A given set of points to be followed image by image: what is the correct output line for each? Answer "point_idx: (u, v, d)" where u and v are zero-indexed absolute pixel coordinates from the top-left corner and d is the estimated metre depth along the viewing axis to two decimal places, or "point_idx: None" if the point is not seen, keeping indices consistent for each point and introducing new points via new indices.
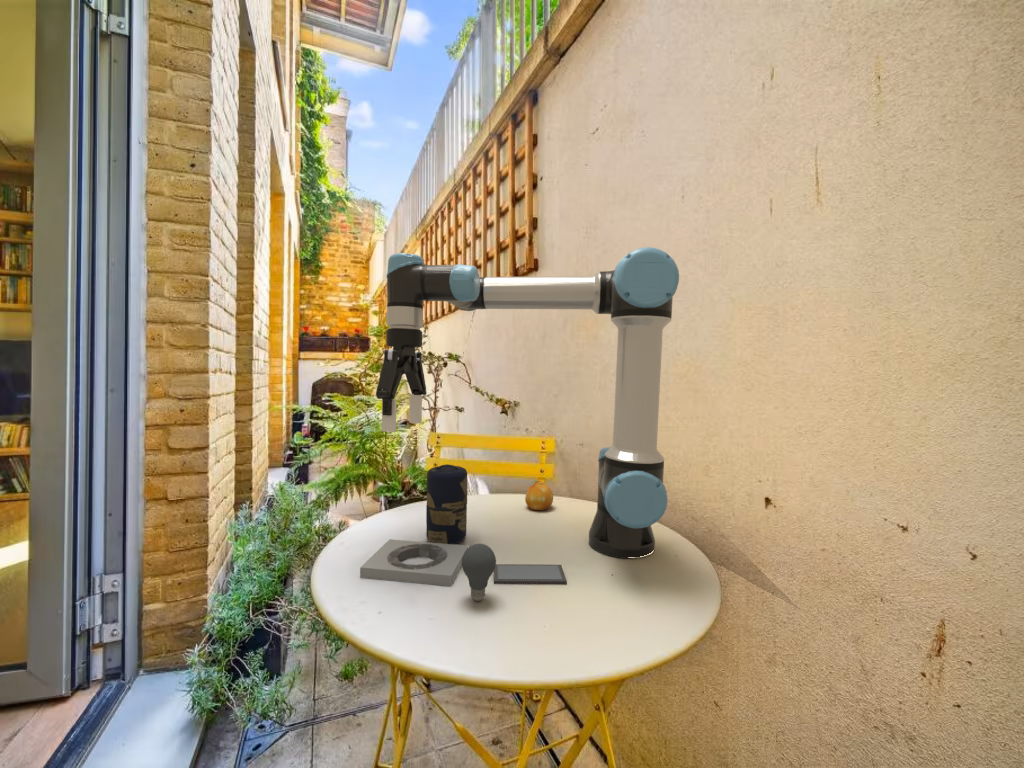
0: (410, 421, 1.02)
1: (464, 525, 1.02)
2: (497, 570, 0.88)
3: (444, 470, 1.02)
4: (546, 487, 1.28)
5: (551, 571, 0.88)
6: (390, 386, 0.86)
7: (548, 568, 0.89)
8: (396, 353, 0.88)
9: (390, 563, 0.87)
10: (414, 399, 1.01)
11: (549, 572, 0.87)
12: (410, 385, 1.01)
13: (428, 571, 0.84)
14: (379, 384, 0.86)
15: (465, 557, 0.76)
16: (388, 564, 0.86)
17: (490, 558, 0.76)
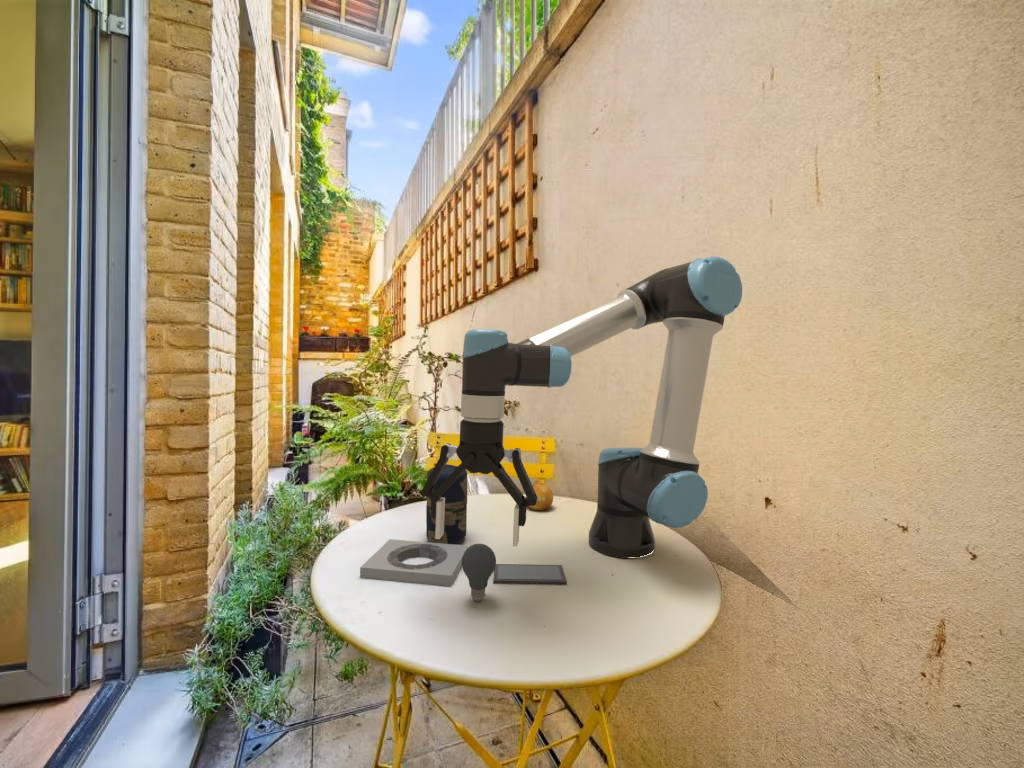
0: None
1: (464, 525, 1.02)
2: (497, 570, 0.88)
3: (444, 470, 1.02)
4: (546, 487, 1.28)
5: (551, 572, 0.88)
6: (427, 485, 0.77)
7: (549, 568, 0.89)
8: (442, 449, 0.76)
9: (390, 563, 0.87)
10: None
11: (549, 572, 0.87)
12: None
13: (428, 571, 0.84)
14: None
15: (465, 557, 0.76)
16: (388, 564, 0.86)
17: (490, 558, 0.76)
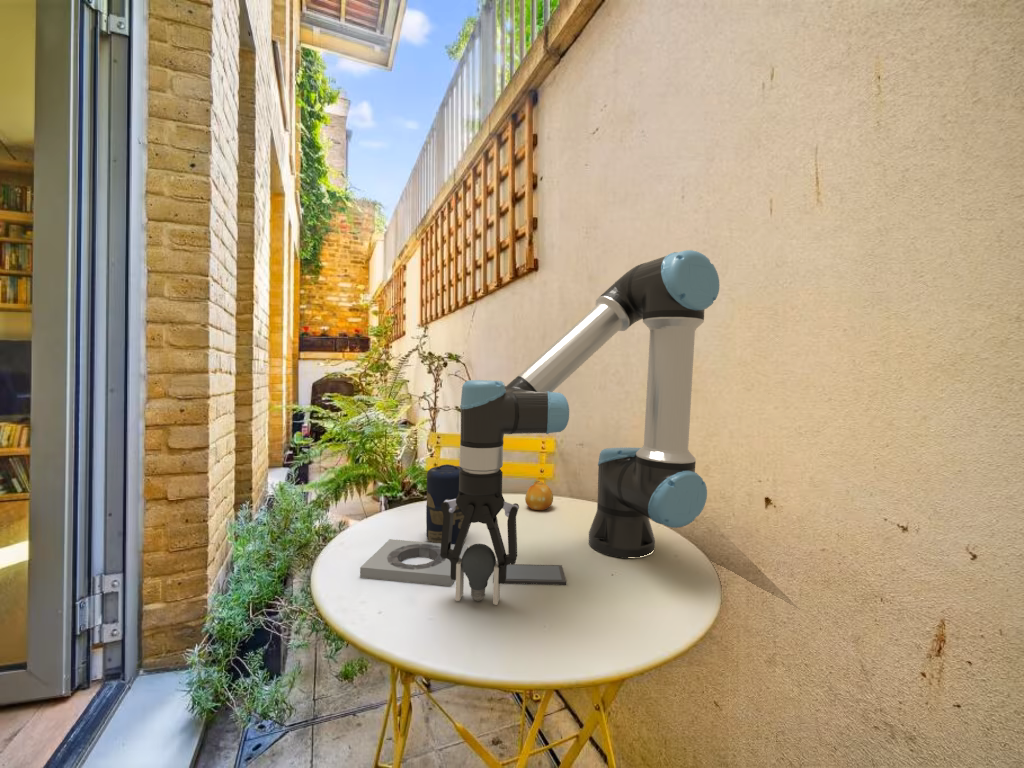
0: None
1: None
2: None
3: (444, 470, 1.02)
4: (546, 487, 1.28)
5: (551, 572, 0.88)
6: (443, 546, 0.77)
7: (549, 568, 0.89)
8: (442, 507, 0.77)
9: (390, 563, 0.87)
10: None
11: (549, 573, 0.87)
12: None
13: (428, 571, 0.84)
14: None
15: (465, 557, 0.76)
16: (388, 564, 0.86)
17: (490, 558, 0.76)
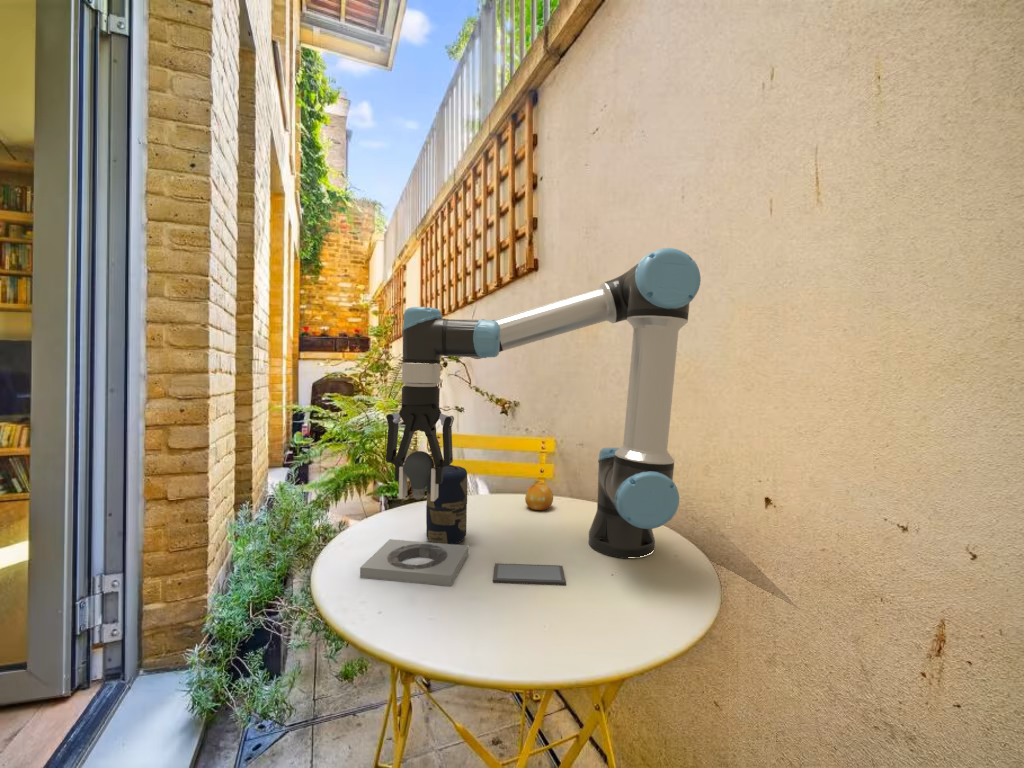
0: None
1: (464, 525, 1.02)
2: (497, 569, 0.88)
3: (444, 470, 1.02)
4: (546, 487, 1.28)
5: (551, 572, 0.88)
6: (388, 452, 0.89)
7: (549, 569, 0.89)
8: (387, 418, 0.89)
9: (390, 563, 0.87)
10: None
11: (549, 573, 0.87)
12: None
13: (428, 571, 0.84)
14: None
15: (406, 460, 0.88)
16: (388, 564, 0.86)
17: (428, 461, 0.88)
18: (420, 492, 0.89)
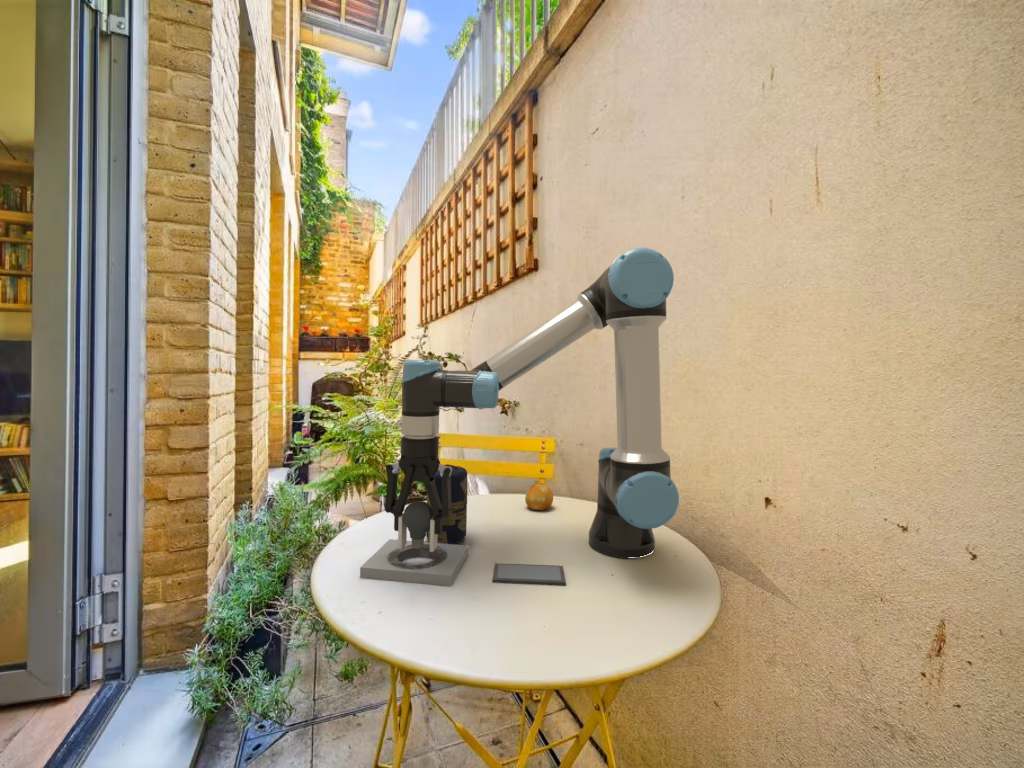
0: None
1: (464, 525, 1.02)
2: (497, 569, 0.88)
3: None
4: (546, 487, 1.28)
5: (551, 572, 0.88)
6: (388, 502, 0.90)
7: (549, 569, 0.89)
8: (387, 468, 0.89)
9: (390, 563, 0.87)
10: None
11: (549, 573, 0.87)
12: None
13: (428, 571, 0.84)
14: None
15: (405, 511, 0.89)
16: (388, 564, 0.86)
17: (427, 512, 0.88)
18: (419, 542, 0.89)
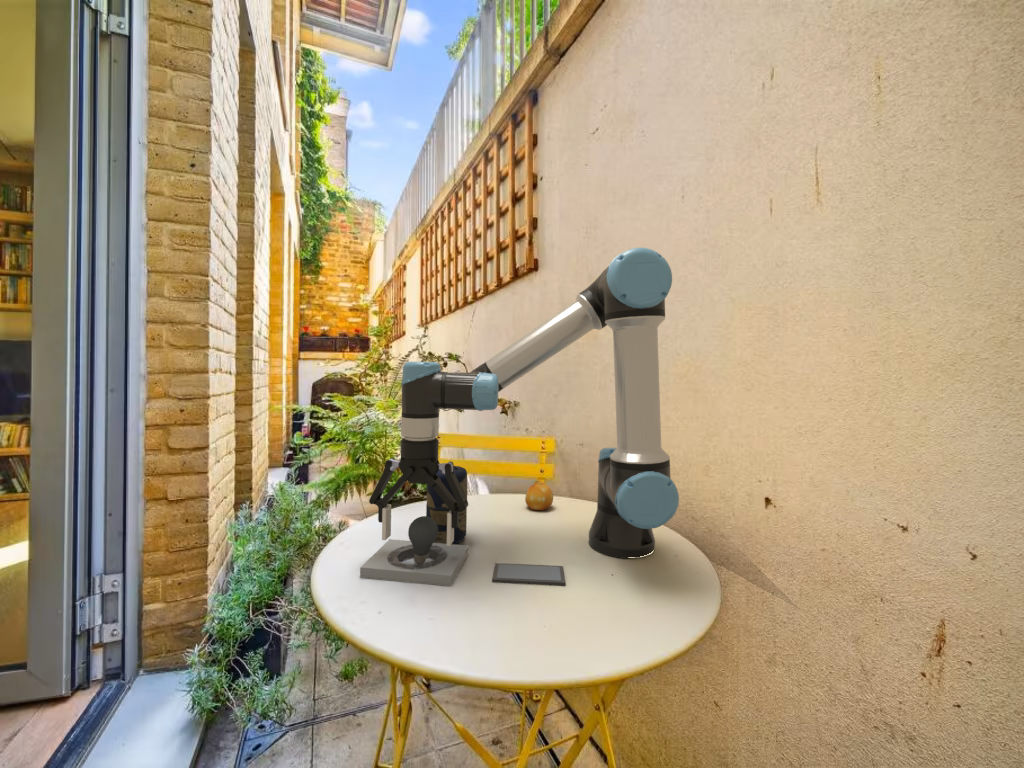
0: None
1: (464, 525, 1.02)
2: (497, 569, 0.88)
3: None
4: (546, 487, 1.28)
5: (551, 572, 0.87)
6: (374, 494, 0.90)
7: (549, 569, 0.89)
8: (386, 463, 0.89)
9: (390, 563, 0.87)
10: None
11: (549, 573, 0.87)
12: None
13: (428, 571, 0.84)
14: None
15: (411, 526, 0.89)
16: (388, 564, 0.86)
17: (433, 528, 0.89)
18: (422, 558, 0.89)
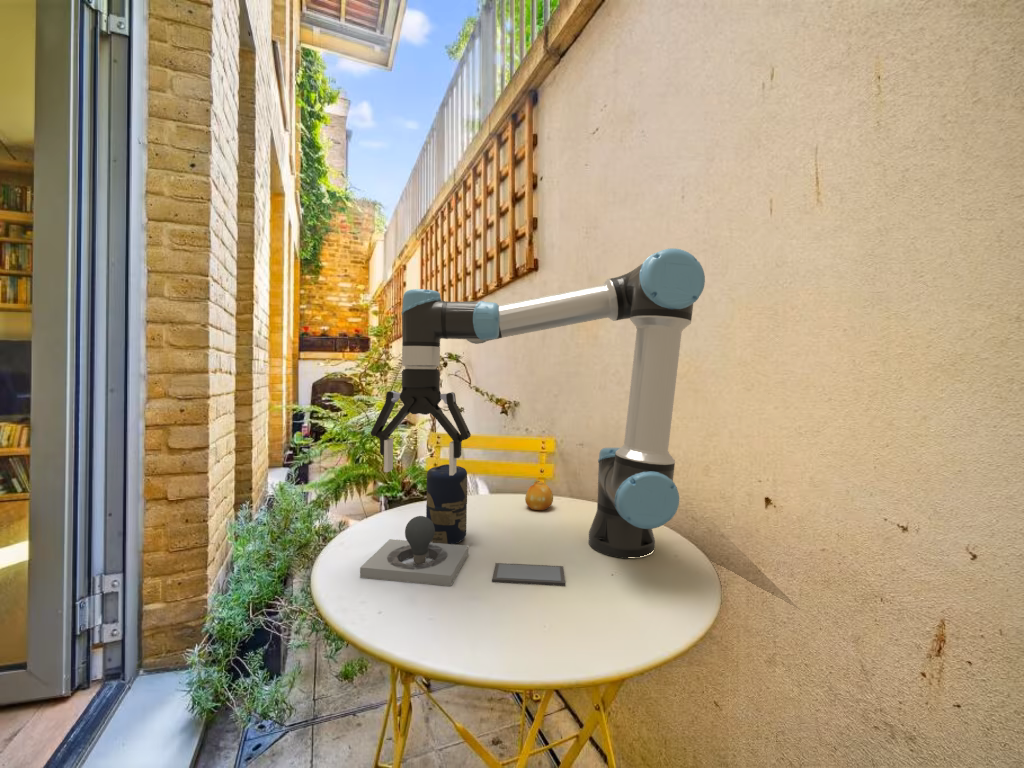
0: None
1: (464, 525, 1.02)
2: (498, 569, 0.89)
3: (444, 470, 1.02)
4: (546, 487, 1.28)
5: (551, 572, 0.87)
6: (376, 426, 0.89)
7: (549, 569, 0.89)
8: (387, 394, 0.89)
9: (390, 563, 0.87)
10: None
11: (549, 573, 0.87)
12: None
13: (428, 571, 0.84)
14: None
15: (407, 526, 0.89)
16: (388, 564, 0.86)
17: (429, 527, 0.89)
18: (421, 558, 0.89)
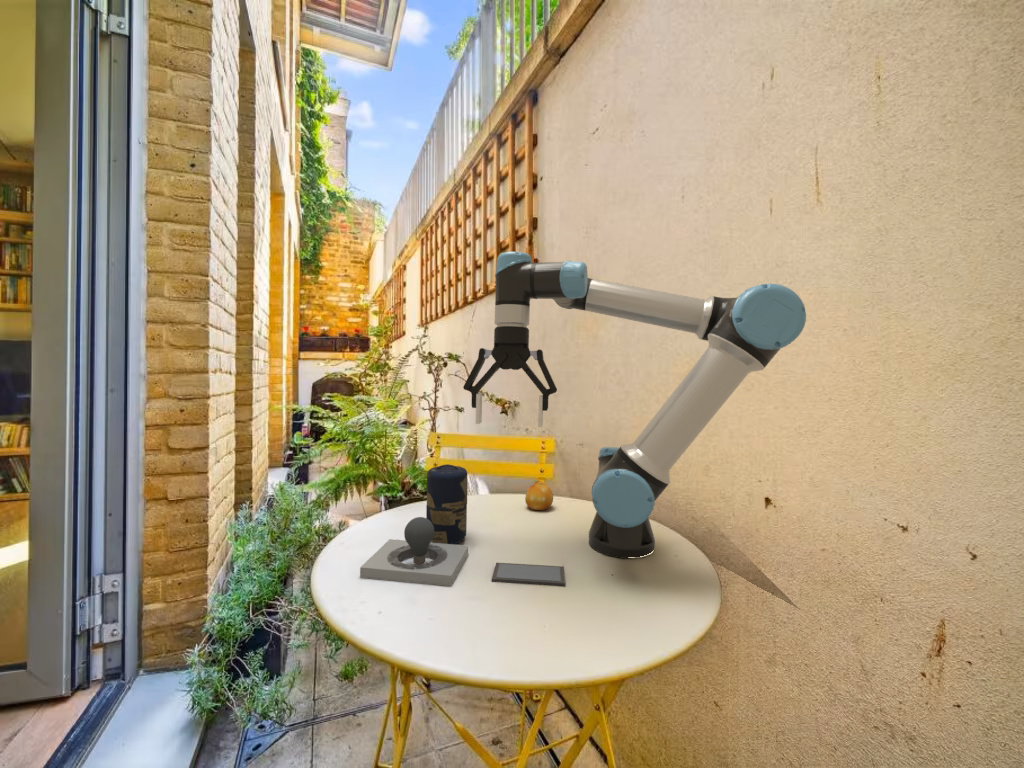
0: None
1: (464, 525, 1.02)
2: (498, 568, 0.89)
3: (444, 470, 1.02)
4: (546, 487, 1.28)
5: (551, 573, 0.87)
6: (468, 381, 0.96)
7: (550, 569, 0.89)
8: (480, 351, 0.95)
9: (390, 563, 0.87)
10: None
11: (549, 573, 0.87)
12: None
13: (428, 571, 0.84)
14: None
15: (406, 528, 0.88)
16: (388, 564, 0.86)
17: (428, 528, 0.88)
18: (421, 559, 0.89)
